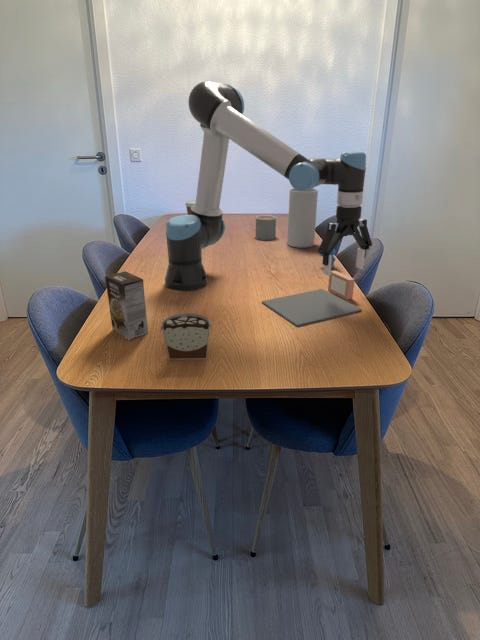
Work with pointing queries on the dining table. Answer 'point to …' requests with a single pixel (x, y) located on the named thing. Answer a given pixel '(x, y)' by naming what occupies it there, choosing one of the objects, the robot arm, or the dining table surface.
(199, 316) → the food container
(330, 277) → the pink picture frame
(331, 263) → the blue lumpy piece
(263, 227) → the coffee mug
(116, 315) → the coffee box
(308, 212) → the cylinder vase
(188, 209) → the disposable coffee cup
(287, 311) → the mat
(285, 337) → the dining table surface
